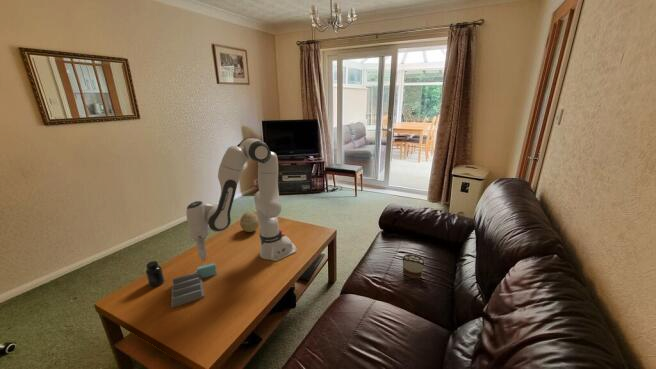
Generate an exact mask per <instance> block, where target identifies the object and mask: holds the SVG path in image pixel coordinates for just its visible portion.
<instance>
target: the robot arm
mask: <svg viewBox="0 0 656 369" xmlns="http://www.w3.org/2000/svg"><path fill="white" fill-rule="evenodd" d="M249 160H252V161H254V162H257V165H258V168H257V188H258V191H256V193H254V196H253V200H254V204H255V209H256V216H257V217H258V219H259V225H258V227H259V242H260V250H259V258H261V259H263V260H268V261H269V260H271V261H273V262H277V261H279V260H282V259H283V258H286V257H288V256H291V255H293V254H295V253H297V247H296V245H295V244H294V243H293V241H291V239H290V238H289V237H288V236H286V234H285V233H284V232H283V231H282V230H281V229H280V226H279V219H278V216H279V215H281V212H282V206H281V202H280V200H281V198H280V192H279V191H280V190H279V159H278V155H277V153H276V152H274V151H271V150H270V148H269V146H268V145H267V143H266V142H264V141H262V140H260V139H259V138H255V137H245V138H244V139H242V140H241V141H240V142H239V143H238V144H237V145H231V146H229V147H228V148H227V149H226V150H225V152H224V154H223V156H222V158H221V162H220V164H219V166H218V167H219V168H218V173H217V178H218V179H217V180H218V183H219V185H220V196H219V200H218V203H207V202H206V203H205V202H203V201H201V200H199V201H197V200H196V201H193V202H191V203H189V204H188V205H187V208H186V213H185V214H186V221H187V224H188V232H189V233H188V234H189V238H190V239H191V240H193V241H194V242H196V246H197V247H196V248H197V254H198V255H197V256H198V257H199V259H200V260H201V262H205V261H206V257H207V255H208V253H207V247H206V241H205V240H206V239H207V237H208V236H209V235H210V232H209V231H210V230H211V231H213V232H222V231H225V230H226V229H228V228H229V227H230V225H231V222H232V220H231V219H232V218H231V210H232V206H233V203H234V200H235V196H236V191H237V189H238V184H239V182H240V178H241V175H242V173H243V170H244V166H245V165H246V163H247V162H248V161H249ZM209 228H210V230H209Z"/></svg>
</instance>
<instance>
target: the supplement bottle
mask: <svg viewBox="0 0 656 369" xmlns="http://www.w3.org/2000/svg"><path fill="white" fill-rule="evenodd" d="M145 275H146V278H147V281H148V285H149V287H152V288H156V287H159V286H161V285H163V283H164V282H165V277H164V273H163V270H162V266H161V265H159V263H158V261H156V260H153V261H149V262H148V263H147V264H146V270H145Z"/></svg>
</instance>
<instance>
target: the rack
mask: <svg viewBox="0 0 656 369" xmlns="http://www.w3.org/2000/svg"><path fill="white" fill-rule="evenodd" d="M172 283H173V284H172V285H171V300H170V304H171V305H170V307H171V308H176V307H178V306H182V305H184V304H189V303H190V302H194V301H199V300H200V299H204V298H205V294H204V293H205V292H204V286H203V278H202V277H199V273H198V272H193V273H189V274H186V275H181V276H178V277H175V278H172Z"/></svg>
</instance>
